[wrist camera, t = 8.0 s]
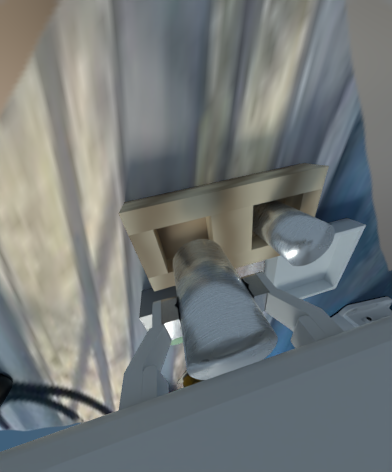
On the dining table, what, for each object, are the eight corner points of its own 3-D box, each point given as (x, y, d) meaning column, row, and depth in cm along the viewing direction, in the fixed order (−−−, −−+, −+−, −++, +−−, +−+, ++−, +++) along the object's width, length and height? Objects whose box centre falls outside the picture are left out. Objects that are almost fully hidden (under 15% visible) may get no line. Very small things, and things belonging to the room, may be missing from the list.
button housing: (190, 277, 23) (196, 300, 19) (197, 306, 26) (203, 330, 23) (141, 291, 22) (139, 318, 18) (156, 319, 25) (156, 345, 22)
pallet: (303, 163, 18) (328, 165, 15) (289, 236, 23) (306, 248, 20) (124, 202, 15) (118, 213, 13) (154, 273, 21) (154, 291, 18)
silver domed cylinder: (281, 193, 18) (341, 216, 12) (277, 226, 21) (326, 259, 15) (246, 202, 18) (292, 230, 12) (246, 234, 20) (284, 271, 14)
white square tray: (347, 217, 24) (365, 225, 21) (323, 278, 30) (335, 288, 28) (267, 239, 22) (279, 249, 20) (261, 297, 29) (269, 309, 27)
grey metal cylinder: (221, 233, 12) (283, 316, 6) (225, 272, 14) (272, 361, 9) (166, 247, 12) (176, 351, 6) (179, 286, 14) (195, 388, 8)
